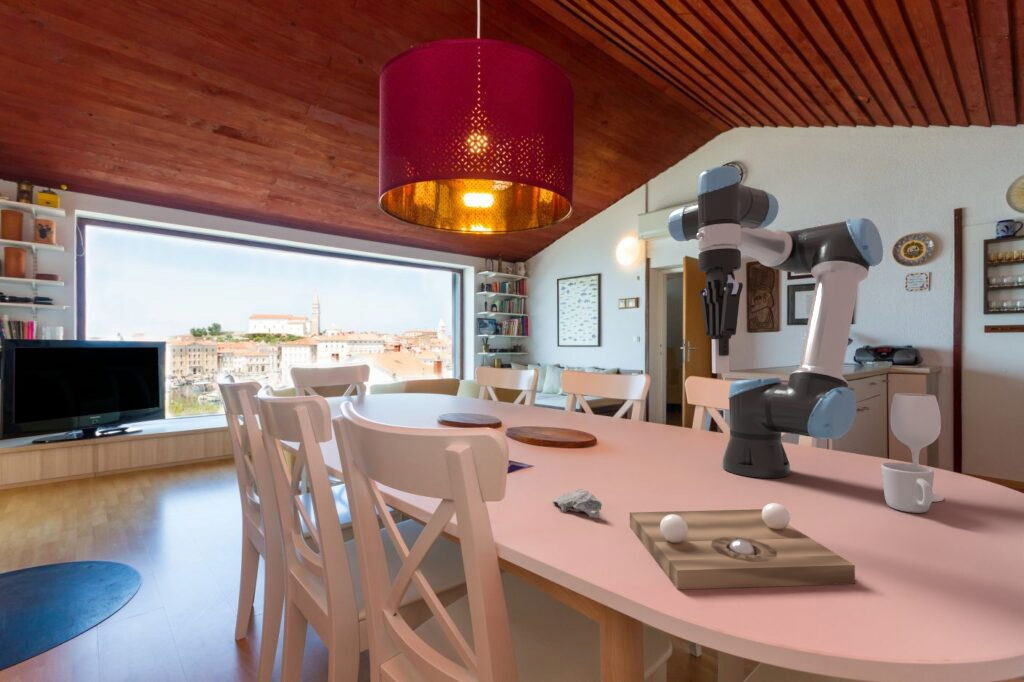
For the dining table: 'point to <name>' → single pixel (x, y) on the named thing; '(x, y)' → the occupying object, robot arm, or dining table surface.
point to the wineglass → (916, 423)
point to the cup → (907, 486)
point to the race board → (715, 566)
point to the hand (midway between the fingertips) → (720, 372)
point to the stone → (580, 503)
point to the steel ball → (742, 547)
